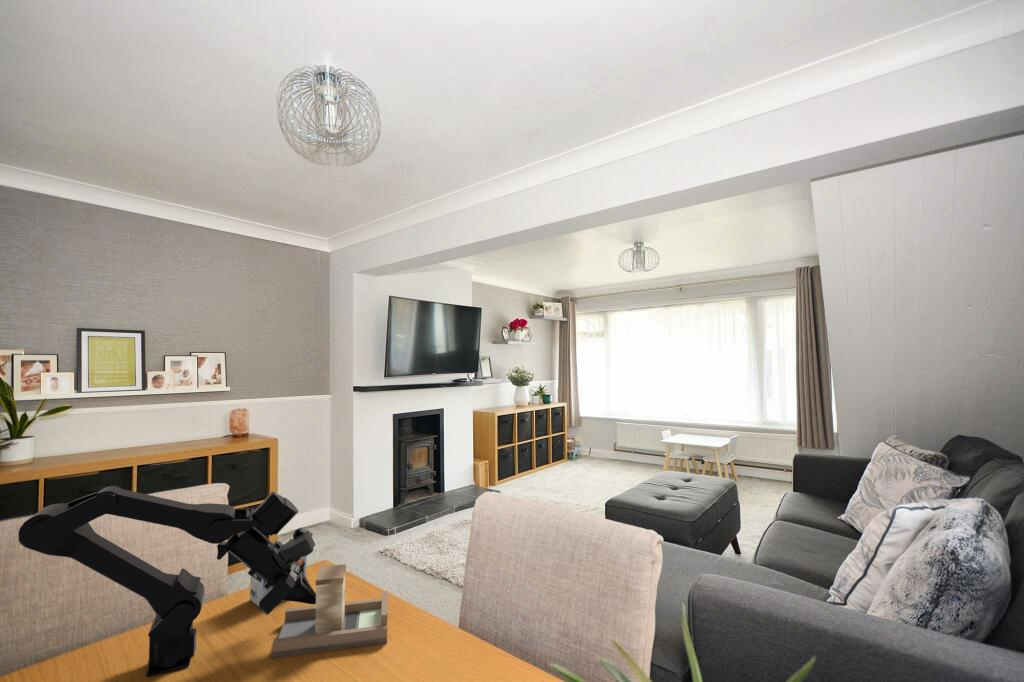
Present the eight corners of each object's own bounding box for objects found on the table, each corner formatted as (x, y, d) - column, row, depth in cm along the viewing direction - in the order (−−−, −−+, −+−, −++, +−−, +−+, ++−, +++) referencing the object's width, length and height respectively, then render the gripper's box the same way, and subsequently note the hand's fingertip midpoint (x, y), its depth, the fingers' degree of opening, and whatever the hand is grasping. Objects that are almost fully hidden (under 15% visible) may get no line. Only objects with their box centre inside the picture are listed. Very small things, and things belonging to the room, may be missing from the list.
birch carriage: (314, 636, 94) (315, 580, 94) (319, 618, 100) (320, 566, 100) (342, 632, 96) (343, 577, 96) (345, 615, 102) (346, 564, 102)
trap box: (272, 658, 90) (273, 632, 90) (286, 623, 101) (286, 599, 101) (386, 643, 95) (387, 617, 95) (387, 610, 106) (387, 588, 107)
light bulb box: (262, 610, 106) (263, 562, 106) (248, 600, 110) (249, 554, 110) (307, 591, 115) (308, 546, 115) (292, 582, 119) (293, 539, 119)
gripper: (279, 540, 87) (341, 593, 90) (298, 507, 105) (349, 552, 108) (231, 588, 85) (296, 641, 88) (258, 546, 103) (312, 591, 106)
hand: (316, 601), depth 97 cm, fingers closed, pressing on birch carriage
